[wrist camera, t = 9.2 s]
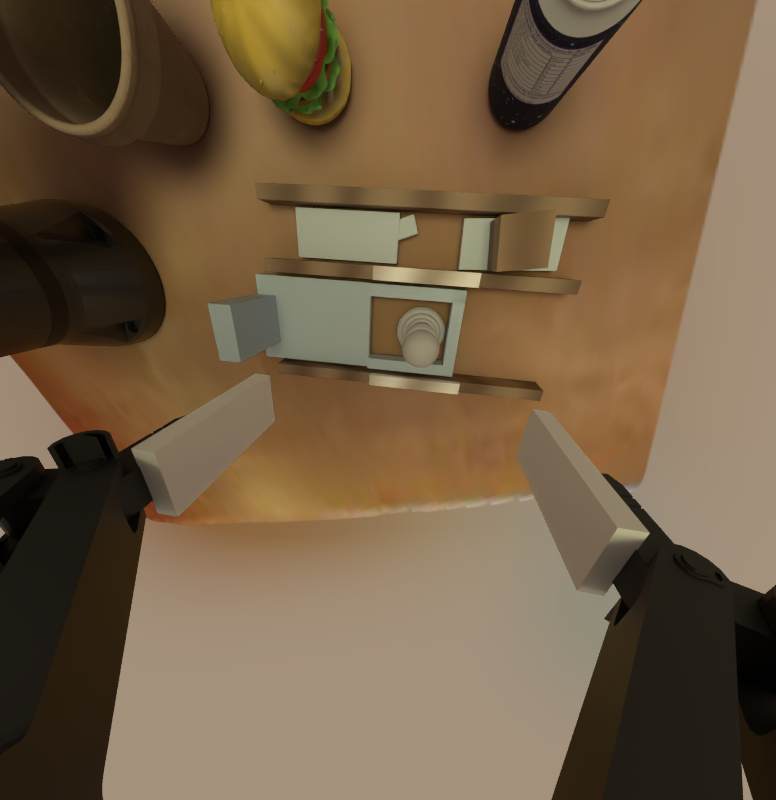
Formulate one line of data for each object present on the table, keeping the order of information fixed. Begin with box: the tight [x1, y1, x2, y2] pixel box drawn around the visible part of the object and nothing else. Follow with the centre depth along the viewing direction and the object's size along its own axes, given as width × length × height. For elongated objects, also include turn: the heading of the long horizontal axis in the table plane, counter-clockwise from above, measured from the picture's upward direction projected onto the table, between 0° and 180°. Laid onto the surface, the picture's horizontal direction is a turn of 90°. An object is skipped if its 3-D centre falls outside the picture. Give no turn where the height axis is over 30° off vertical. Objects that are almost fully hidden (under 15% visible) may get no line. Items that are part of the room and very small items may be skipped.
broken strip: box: [295, 207, 570, 271], centre depth 27 cm, size 25×5×1 cm, turn 86°
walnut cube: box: [487, 209, 557, 272], centre depth 24 cm, size 4×4×4 cm
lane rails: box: [255, 182, 610, 401], centre depth 28 cm, size 30×18×3 cm, turn 86°
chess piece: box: [397, 307, 445, 368], centre depth 27 cm, size 5×5×9 cm
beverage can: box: [489, 0, 642, 129], centre depth 16 cm, size 6×6×12 cm
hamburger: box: [211, 0, 351, 125], centre depth 18 cm, size 8×7×12 cm
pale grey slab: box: [207, 274, 467, 377], centre depth 27 cm, size 22×9×9 cm, turn 86°
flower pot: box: [0, 0, 209, 147], centre depth 20 cm, size 12×11×10 cm
